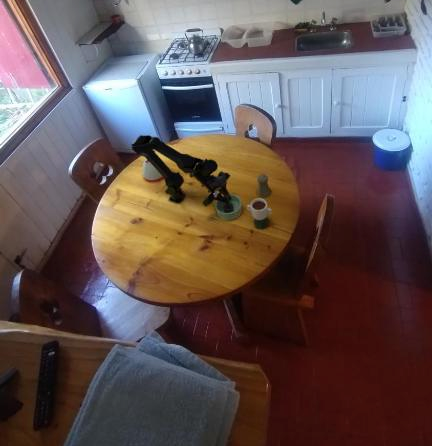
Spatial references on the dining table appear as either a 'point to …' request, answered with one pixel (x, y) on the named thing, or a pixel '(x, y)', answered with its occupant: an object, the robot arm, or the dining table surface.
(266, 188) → the pepper mill
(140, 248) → the dining table surface
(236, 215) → the bowl
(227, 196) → the grey peg stand
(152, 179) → the kitchen timer
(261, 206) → the character mug
